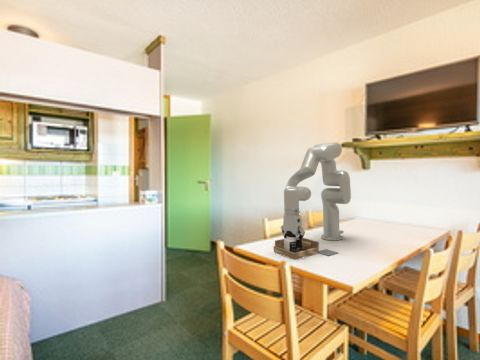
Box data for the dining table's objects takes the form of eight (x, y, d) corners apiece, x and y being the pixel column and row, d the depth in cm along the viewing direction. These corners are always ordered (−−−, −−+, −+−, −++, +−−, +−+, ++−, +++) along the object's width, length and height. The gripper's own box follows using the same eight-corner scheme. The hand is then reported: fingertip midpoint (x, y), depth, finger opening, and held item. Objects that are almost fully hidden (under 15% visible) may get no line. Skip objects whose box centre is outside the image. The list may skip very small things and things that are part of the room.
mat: (326, 249, 144) (326, 248, 144) (338, 253, 138) (338, 252, 137) (315, 252, 140) (315, 251, 140) (328, 256, 133) (328, 255, 133)
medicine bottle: (289, 255, 135) (289, 232, 135) (283, 251, 142) (283, 229, 141) (302, 253, 137) (301, 230, 136) (295, 249, 144) (295, 227, 143)
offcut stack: (300, 248, 148) (300, 239, 148) (312, 251, 141) (312, 242, 141) (295, 249, 146) (295, 240, 146) (307, 253, 139) (307, 244, 139)
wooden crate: (296, 246, 152) (296, 236, 152) (318, 253, 138) (318, 241, 138) (273, 251, 143) (273, 240, 142) (294, 259, 129) (294, 247, 129)
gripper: (309, 212, 133) (310, 247, 134) (285, 209, 148) (286, 240, 149) (298, 214, 129) (299, 250, 130) (275, 210, 144) (276, 242, 145)
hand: (292, 244), depth 139 cm, fingers closed on medicine bottle, 8 cm apart
